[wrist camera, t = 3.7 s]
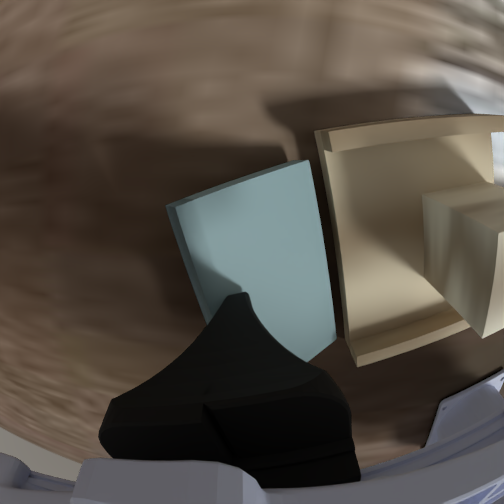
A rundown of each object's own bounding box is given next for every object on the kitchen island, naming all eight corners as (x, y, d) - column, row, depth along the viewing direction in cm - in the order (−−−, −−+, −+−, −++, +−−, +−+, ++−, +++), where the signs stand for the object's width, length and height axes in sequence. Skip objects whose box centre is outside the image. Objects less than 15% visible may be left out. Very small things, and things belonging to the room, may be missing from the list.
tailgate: (336, 338, 16) (246, 405, 13) (323, 332, 17) (235, 394, 14) (308, 159, 12) (175, 207, 10) (292, 160, 13) (165, 205, 10)
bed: (474, 296, 17) (495, 315, 14) (344, 339, 17) (357, 367, 15) (474, 113, 12) (504, 115, 10) (313, 131, 13) (328, 131, 11)
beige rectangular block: (483, 257, 14) (544, 304, 9) (423, 277, 15) (482, 338, 9) (486, 181, 13) (561, 211, 7) (421, 194, 13) (498, 233, 8)
